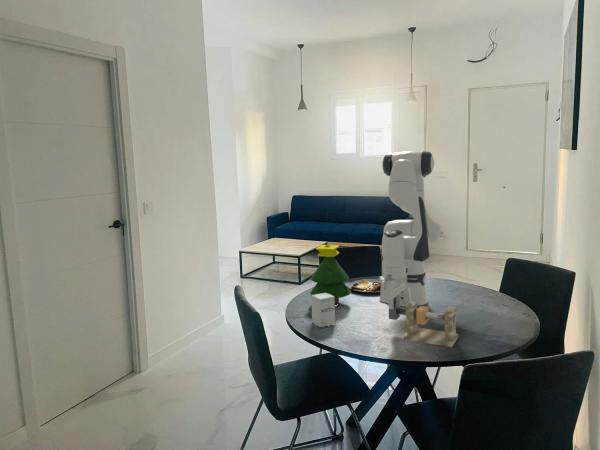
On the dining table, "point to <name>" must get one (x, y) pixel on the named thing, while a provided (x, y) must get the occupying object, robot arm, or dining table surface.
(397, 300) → the shaft
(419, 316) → the spacer
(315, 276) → the decorative tree
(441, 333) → the shaft stand
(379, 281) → the food plate
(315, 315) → the supplement box
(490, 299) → the dining table surface
